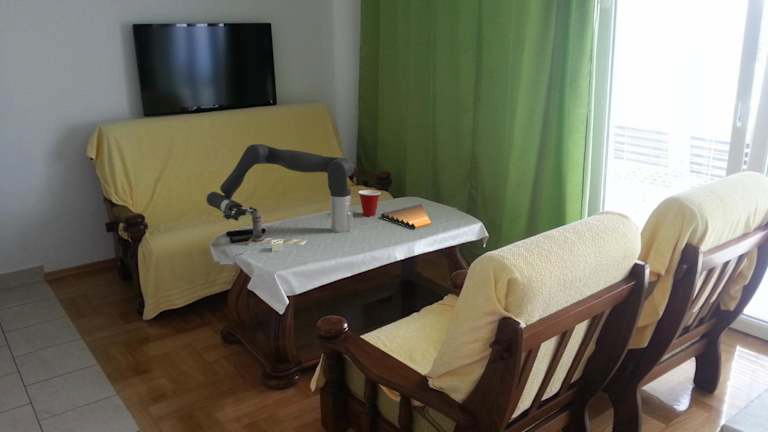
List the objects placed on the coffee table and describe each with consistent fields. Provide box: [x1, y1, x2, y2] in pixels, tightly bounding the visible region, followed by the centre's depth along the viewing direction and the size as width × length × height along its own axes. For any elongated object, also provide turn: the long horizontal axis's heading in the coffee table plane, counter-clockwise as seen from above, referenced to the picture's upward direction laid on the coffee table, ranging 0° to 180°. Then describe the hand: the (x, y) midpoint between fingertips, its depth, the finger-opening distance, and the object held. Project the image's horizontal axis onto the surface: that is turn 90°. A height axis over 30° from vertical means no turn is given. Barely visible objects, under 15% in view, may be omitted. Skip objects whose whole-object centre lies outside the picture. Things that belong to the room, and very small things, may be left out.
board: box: [245, 237, 308, 246], centre depth 261 cm, size 26×8×1 cm, turn 81°
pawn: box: [251, 210, 265, 243], centre depth 260 cm, size 5×5×13 cm
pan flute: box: [380, 203, 432, 230], centre depth 296 cm, size 25×3×25 cm
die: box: [271, 238, 284, 252], centre depth 251 cm, size 4×4×5 cm
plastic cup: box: [358, 189, 381, 217], centre depth 300 cm, size 11×11×12 cm
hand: (246, 216), depth 267 cm, fingers open, 8 cm apart
